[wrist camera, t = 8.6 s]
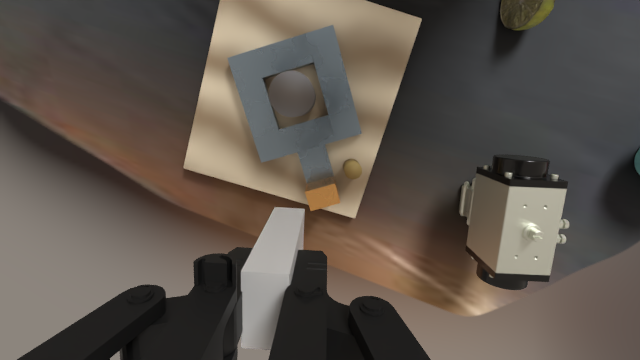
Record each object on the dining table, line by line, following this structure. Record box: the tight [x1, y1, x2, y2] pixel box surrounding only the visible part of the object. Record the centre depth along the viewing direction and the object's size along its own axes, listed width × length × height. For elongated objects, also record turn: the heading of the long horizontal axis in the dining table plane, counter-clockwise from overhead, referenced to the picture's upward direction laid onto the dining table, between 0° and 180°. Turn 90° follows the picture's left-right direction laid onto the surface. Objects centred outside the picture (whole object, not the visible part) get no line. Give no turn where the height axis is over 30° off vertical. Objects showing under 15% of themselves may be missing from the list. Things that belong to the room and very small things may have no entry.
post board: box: [183, 0, 422, 218], centre depth 33 cm, size 22×20×7 cm
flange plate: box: [227, 25, 362, 211], centre depth 33 cm, size 16×11×5 cm, turn 16°
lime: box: [500, 0, 555, 30], centre depth 32 cm, size 4×5×5 cm
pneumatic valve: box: [459, 155, 569, 290], centre depth 33 cm, size 6×12×12 cm, turn 178°
